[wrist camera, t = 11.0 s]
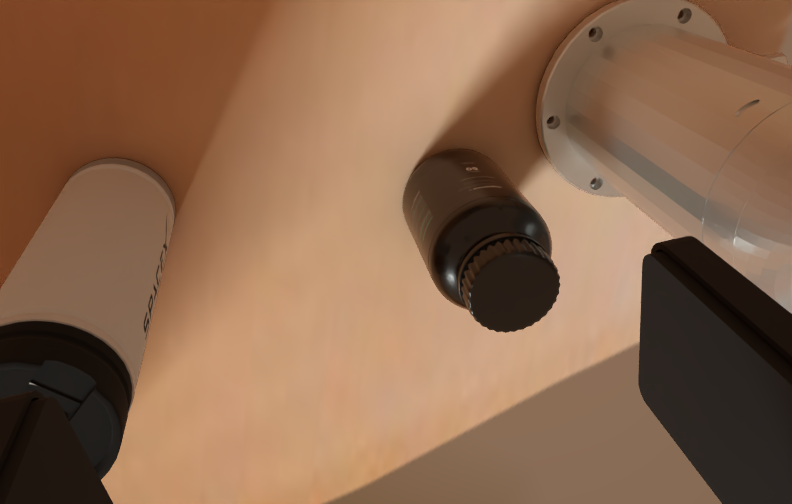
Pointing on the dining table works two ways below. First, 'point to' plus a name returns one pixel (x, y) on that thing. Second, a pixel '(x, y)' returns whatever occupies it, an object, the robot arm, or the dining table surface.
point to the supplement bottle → (481, 240)
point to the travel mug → (88, 299)
